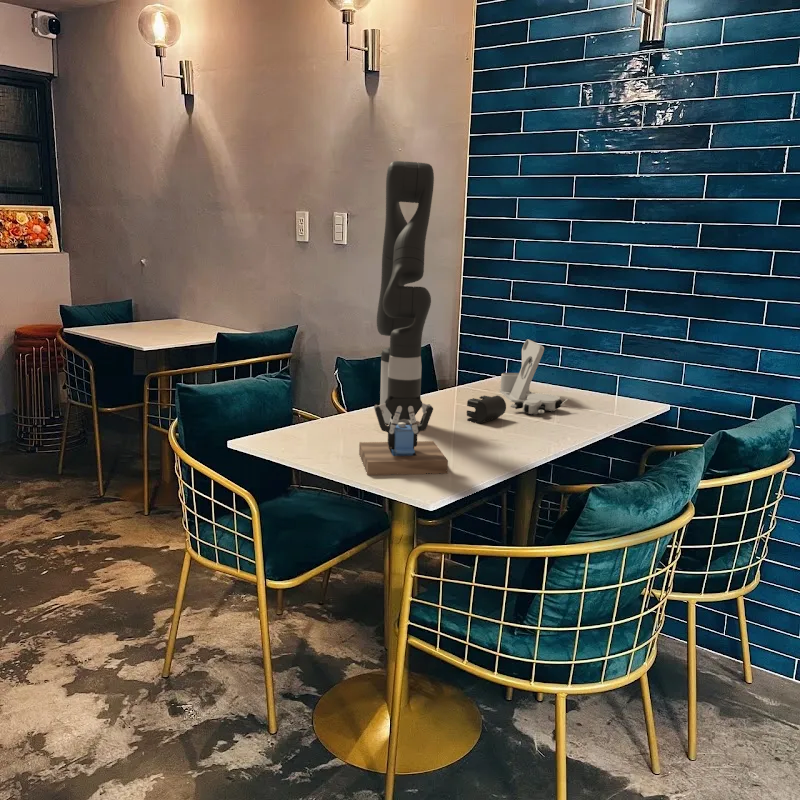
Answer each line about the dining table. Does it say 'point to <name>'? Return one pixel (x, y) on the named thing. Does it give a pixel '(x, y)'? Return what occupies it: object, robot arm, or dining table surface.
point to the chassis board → (402, 459)
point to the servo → (403, 440)
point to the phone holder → (522, 373)
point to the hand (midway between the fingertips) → (402, 448)
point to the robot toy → (539, 403)
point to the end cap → (486, 408)
